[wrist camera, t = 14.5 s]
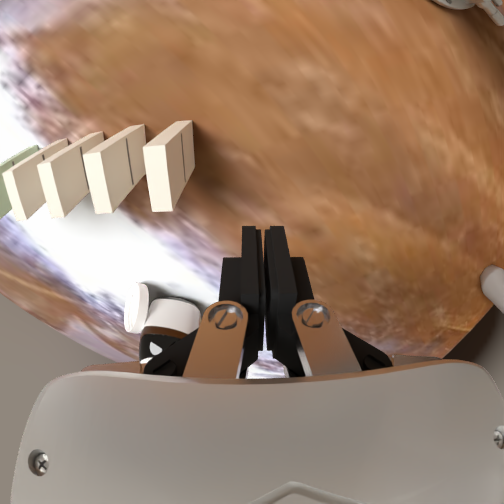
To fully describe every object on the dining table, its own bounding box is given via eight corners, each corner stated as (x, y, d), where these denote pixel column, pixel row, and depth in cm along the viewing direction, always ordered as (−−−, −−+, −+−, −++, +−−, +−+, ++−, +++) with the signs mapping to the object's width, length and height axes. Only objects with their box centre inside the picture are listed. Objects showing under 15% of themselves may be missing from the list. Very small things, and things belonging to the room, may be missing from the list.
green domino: (37, 144, 25) (-17, 177, 17) (45, 181, 28) (-3, 221, 20) (28, 147, 25) (-25, 180, 17) (37, 182, 28) (-11, 223, 20)
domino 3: (144, 124, 26) (100, 151, 17) (149, 169, 28) (112, 213, 20) (130, 126, 26) (82, 154, 17) (135, 170, 28) (95, 214, 20)
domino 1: (67, 138, 25) (12, 170, 17) (75, 177, 28) (26, 219, 20) (56, 140, 25) (2, 173, 17) (64, 179, 28) (16, 220, 20)
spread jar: (200, 337, 45) (192, 401, 35) (133, 326, 43) (114, 386, 34) (205, 282, 38) (194, 356, 28) (124, 270, 36) (94, 336, 27)
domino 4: (192, 120, 26) (165, 145, 17) (195, 166, 29) (172, 211, 20) (176, 121, 26) (142, 147, 17) (179, 167, 29) (152, 211, 20)
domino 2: (103, 131, 26) (50, 162, 17) (109, 173, 28) (64, 217, 20) (90, 133, 26) (36, 164, 17) (97, 175, 28) (51, 218, 20)
